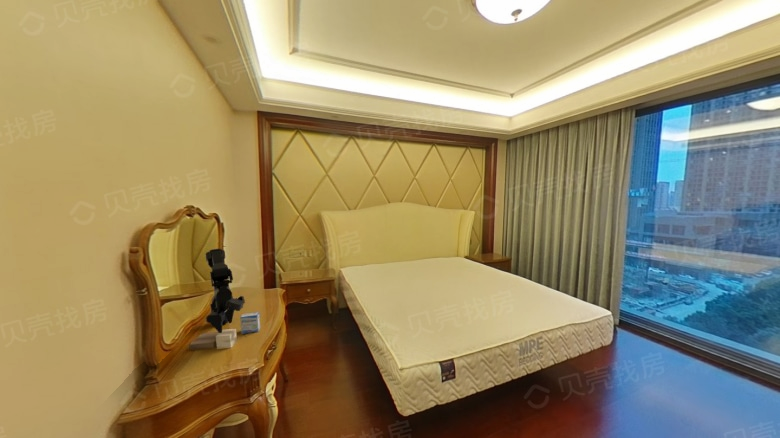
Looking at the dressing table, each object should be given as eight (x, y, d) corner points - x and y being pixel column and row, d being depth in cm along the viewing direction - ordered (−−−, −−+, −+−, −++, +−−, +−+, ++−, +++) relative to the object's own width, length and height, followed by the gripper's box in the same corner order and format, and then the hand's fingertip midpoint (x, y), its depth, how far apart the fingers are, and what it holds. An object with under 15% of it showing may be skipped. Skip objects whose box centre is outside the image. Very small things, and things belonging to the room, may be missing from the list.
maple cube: (223, 341, 130) (222, 329, 130) (236, 340, 131) (235, 328, 130) (217, 349, 125) (215, 336, 124) (231, 347, 125) (229, 335, 124)
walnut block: (202, 339, 134) (202, 333, 134) (224, 337, 135) (223, 331, 135) (190, 350, 124) (189, 344, 124) (213, 349, 125) (213, 342, 125)
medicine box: (241, 334, 137) (239, 317, 136) (243, 330, 141) (242, 313, 140) (258, 331, 139) (257, 315, 138) (260, 327, 143) (259, 311, 143)
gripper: (231, 301, 117) (234, 336, 119) (249, 286, 135) (251, 317, 137) (203, 303, 116) (207, 339, 117) (225, 288, 134) (228, 318, 136)
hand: (225, 327), depth 127 cm, fingers open, 9 cm apart
